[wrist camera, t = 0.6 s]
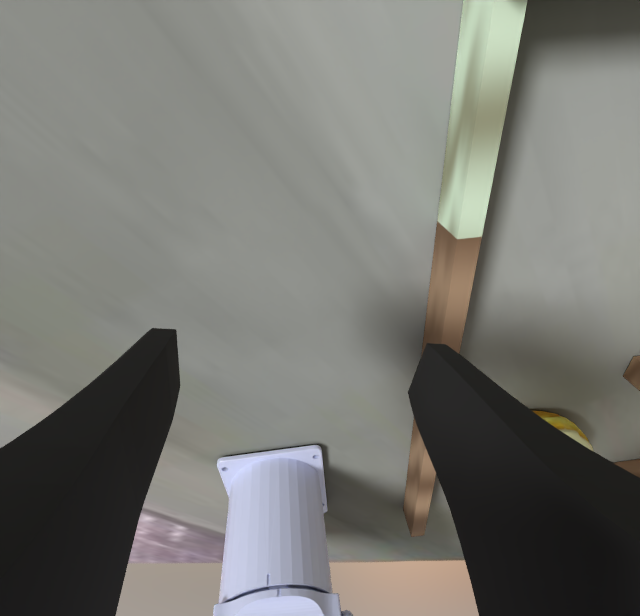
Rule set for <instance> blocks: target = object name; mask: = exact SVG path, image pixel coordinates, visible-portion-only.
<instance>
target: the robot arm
mask: <svg viewBox="0 0 640 616" xmlns="http://www.w3.org/2000/svg"><path fill="white" fill-rule="evenodd" d="M179 389H180V376H179V362H178V348H177V334H176V330H175V329H157V328H152V329H151V330H149V331H148V332H147V333H146V334H145V335H144V336H143V337H141V338H140V339H139V340H138V341H137V342H136V343H135V344H134V345H133V346H132V347H131V348H130V349H129V350H128V351H126V352H125V353H124V354H123V355H122V356H121V357H120V358H119V359H118V360H117V361H115V362H114V363H113V364H112V365H111V366H110V367H109V368H107V369H106V370H105V371H104V372H103V373H102V374H101V375H99V376H98V377H97V378H96V379H95V380H94V381H92V382H91V383H90V384H89V385H88V386H86V387H85V388H84V389H83V390H81V391H80V392H79V393H77V394H76V395H75V396H74V397H72V398H71V399H70V400H69V401H67V402H66V403H65V404H64V405H62V406H61V407H60V408H58V409H57V410H56V411H54V412H53V413H52V414H50V415H49V416H48V417H46V418H45V419H43V420H42V421H41V422H39V423H38V424H36V425H35V426H34V427H32V428H31V429H29V430H28V431H26V432H25V433H23V434H22V435H20V436H19V437H17V438H16V439H14V440H13V441H11V442H10V443H8V444H7V445H5V446H4V447H2V448H0V616H115V615H116V611H117V606H118V602H119V598H120V594H121V589H122V585H123V581H124V577H125V572H126V568H127V564H128V560H129V556H130V552H131V548H132V544H133V540H134V536H135V532H136V528H137V524H138V520H139V517H140V513H141V510H142V507H143V504H144V500H145V497H146V495H147V492H148V489H149V486H150V483H151V480H152V478H153V475H154V472H155V469H156V466H157V463H158V461H159V458H160V455H161V452H162V449H163V446H164V444H165V441H166V438H167V435H168V432H169V429H170V426H171V423H172V420H173V416H174V412H175V408H176V403H177V398H178V394H179ZM408 394H409V398H410V403H411V407H412V411H413V414H414V418H415V422H416V425H417V427H418V430H419V432H420V435H421V437H422V440H423V442H424V445H425V447H426V450H427V452H428V455H429V457H430V460H431V462H432V464H433V467H434V469H435V472H436V474H437V477H438V479H439V481H440V484H441V486H442V489H443V491H444V494H445V496H446V499H447V502H448V505H449V507H450V510H451V513H452V517H453V520H454V523H455V527H456V530H457V533H458V537H459V540H460V543H461V547H462V551H463V554H464V558H465V562H466V565H467V569H468V572H469V576H470V580H471V584H472V588H473V592H474V596H475V600H476V604H477V608H478V612H479V616H640V478H639V477H637V476H636V475H634V474H632V473H630V472H628V471H627V470H625V469H623V468H621V467H619V466H618V465H616V464H614V463H612V462H611V461H609V460H607V459H605V458H603V457H602V456H600V455H598V454H597V453H595V452H593V451H592V450H590V449H588V448H587V447H585V446H583V445H582V444H580V443H579V442H577V441H576V440H574V439H573V438H571V437H569V436H568V435H566V434H565V433H563V432H562V431H560V430H558V429H557V428H555V427H554V426H553V425H551V424H550V423H548V422H547V421H545V420H544V419H542V418H541V417H540V416H538V415H537V414H535V413H534V412H533V411H531V410H530V409H529V408H527V407H526V406H524V405H523V404H522V403H520V402H519V401H518V400H516V399H515V398H514V397H512V396H511V395H510V394H509V393H507V392H506V391H505V390H503V389H502V388H501V387H500V386H498V385H497V384H496V383H495V382H493V381H492V380H491V379H490V378H488V377H487V376H486V375H485V374H483V373H482V372H481V371H480V370H478V369H477V368H476V367H475V366H474V365H472V364H471V363H470V362H469V361H467V360H466V359H465V358H463V357H462V356H461V355H460V354H458V353H457V352H456V351H454V350H453V349H452V348H450V347H449V346H447V345H446V344H433V343H427V344H426V346H425V349H424V351H423V354H422V357H421V359H420V362H419V365H418V367H417V370H416V372H415V375H414V378H413V380H412V383H411V386H410V388H409V391H408ZM217 467H218V469H219V472H220V475H221V477H222V480H223V483H224V486H225V488H226V491H227V494H228V496H229V507H228V517H227V526H226V536H225V546H224V556H223V566H222V575H221V585H220V595H219V604H215V605H214V611H213V616H353V614H352V613H351V612H350V611H348V610H345V611H341V608H340V600H339V594H338V593H332V584H331V575H330V567H329V557H328V549H327V540H326V531H325V522H324V513H325V512H327V510H328V509H327V499H326V489H325V479H324V469H323V459H322V450H321V447H320V446H319V445H311V446H303V447H296V448H288V449H281V450H273V451H266V452H258V453H251V454H243V455H236V456H228V457H222V458H220V459H218V461H217Z"/></svg>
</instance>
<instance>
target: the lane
mask: <svg viewBox="0 0 640 616" xmlns="http://www.w3.org/2000/svg"><path fill="white" fill-rule="evenodd" d="M527 1H528V0H463V9H462V17H461V26H460V34H459V42H458V51H457V59H456V68H455V76H454V85H453V93H452V101H451V110H450V118H449V127H448V135H447V144H446V152H445V161H444V169H443V177H442V186H441V194H440V203H439V211H438V220H437V228H436V237H435V245H434V253H433V262H432V270H431V279H430V287H429V296H428V304H427V313H426V321H425V329H424V338H423V346H422V354H423V351H424V349H425V346H426V344H427V343H433V344H446V345H447V346H449V347H450V348H452V349H453V350H454V351H456V352H457V353H458V354H459V353H460V347H461V342H462V337H463V332H464V327H465V321H466V316H467V311H468V306H469V301H470V296H471V290H472V285H473V280H474V275H475V270H476V265H477V259H478V254H479V249H480V244H481V239H482V234H483V228H484V223H485V218H486V213H487V208H488V203H489V197H490V192H491V187H492V182H493V177H494V172H495V166H496V161H497V156H498V151H499V146H500V141H501V135H502V130H503V125H504V120H505V115H506V109H507V104H508V99H509V94H510V89H511V84H512V78H513V73H514V68H515V63H516V58H517V53H518V47H519V42H520V37H521V32H522V27H523V22H524V16H525V11H526V6H527ZM421 357H422V355H421ZM623 377H624V378H625V379H627V380H628V381H629V382H630V383H631V384H632V385H633V386H635V387H636V388H637V389H638V390H639V391H640V356H634V357H633V359H632V360H631V362H630V364H629V366H628V368H627V370H626V371H625V373H624V375H623ZM614 464H616V465H618V466H619V467H621V468H623V469H625V470H627V471H628V472H630V473H632V474H634V475H636V476H637V477H639V478H640V459H636V460H629V461H622V462H615V463H614ZM435 477H436V472H435V469H434V467H433V464H432V462H431V460H430V457H429V455H428V452H427V450H426V447H425V445H424V442H423V440H422V437H421V435H420V432H419V430H418V427H417V425H416V422H415V418H414V422H413V431H412V439H411V448H410V456H409V464H408V473H407V481H406V490H405V498H404V507H403V511H404V514H405V517H406V521H407V524H408V528H409V531H410V534H411V537H415V536H422V535H424V533H425V528H426V523H427V518H428V513H429V508H430V502H431V497H432V492H433V487H434V482H435Z"/></svg>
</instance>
